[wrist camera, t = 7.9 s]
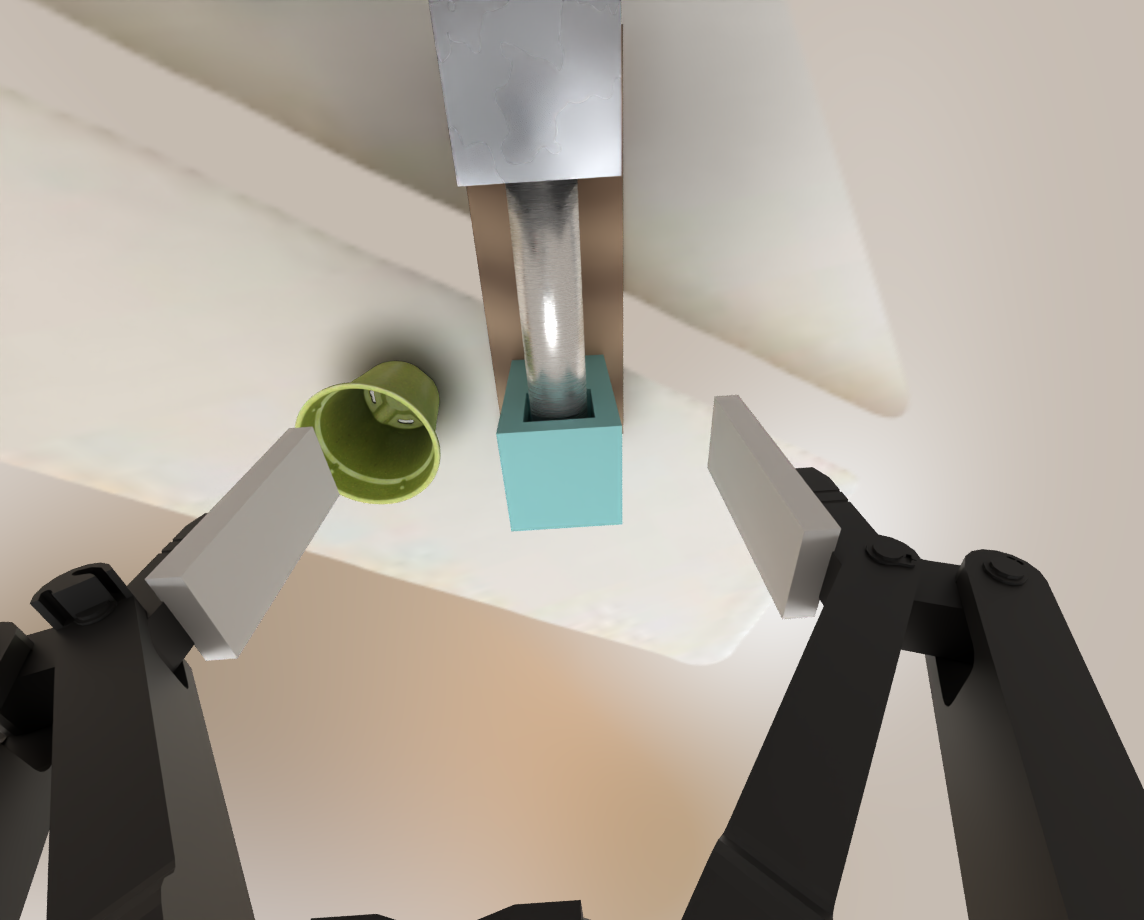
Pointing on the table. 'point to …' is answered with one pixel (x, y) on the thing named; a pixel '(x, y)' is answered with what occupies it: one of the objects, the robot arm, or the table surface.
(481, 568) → the table surface
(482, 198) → the walnut board
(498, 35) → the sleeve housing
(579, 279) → the steel tube
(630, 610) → the table surface
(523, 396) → the teal socket block
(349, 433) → the plant pot
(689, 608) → the table surface
